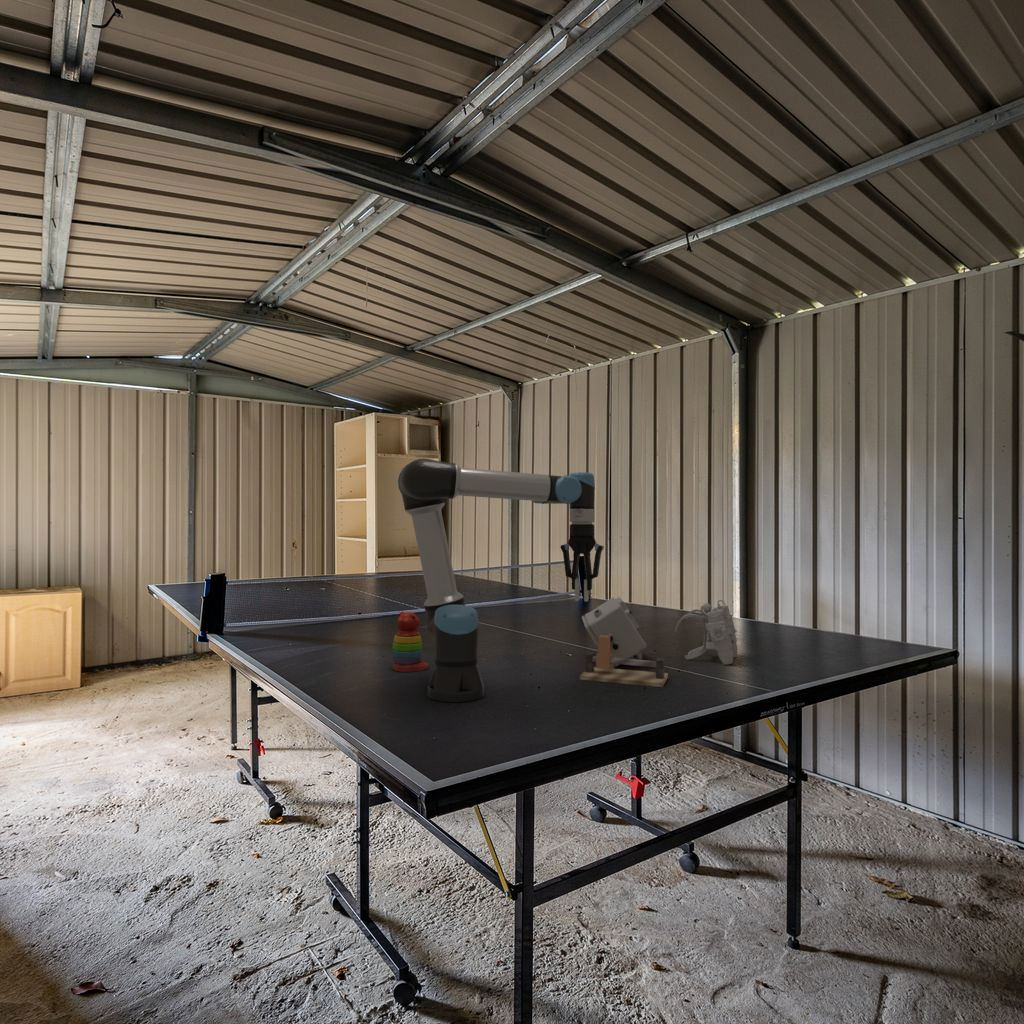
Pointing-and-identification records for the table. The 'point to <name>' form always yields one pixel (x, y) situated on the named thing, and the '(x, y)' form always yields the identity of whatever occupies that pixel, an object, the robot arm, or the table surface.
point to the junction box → (615, 629)
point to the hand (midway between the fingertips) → (581, 600)
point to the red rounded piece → (408, 645)
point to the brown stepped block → (603, 652)
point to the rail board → (625, 672)
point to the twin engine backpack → (715, 632)
